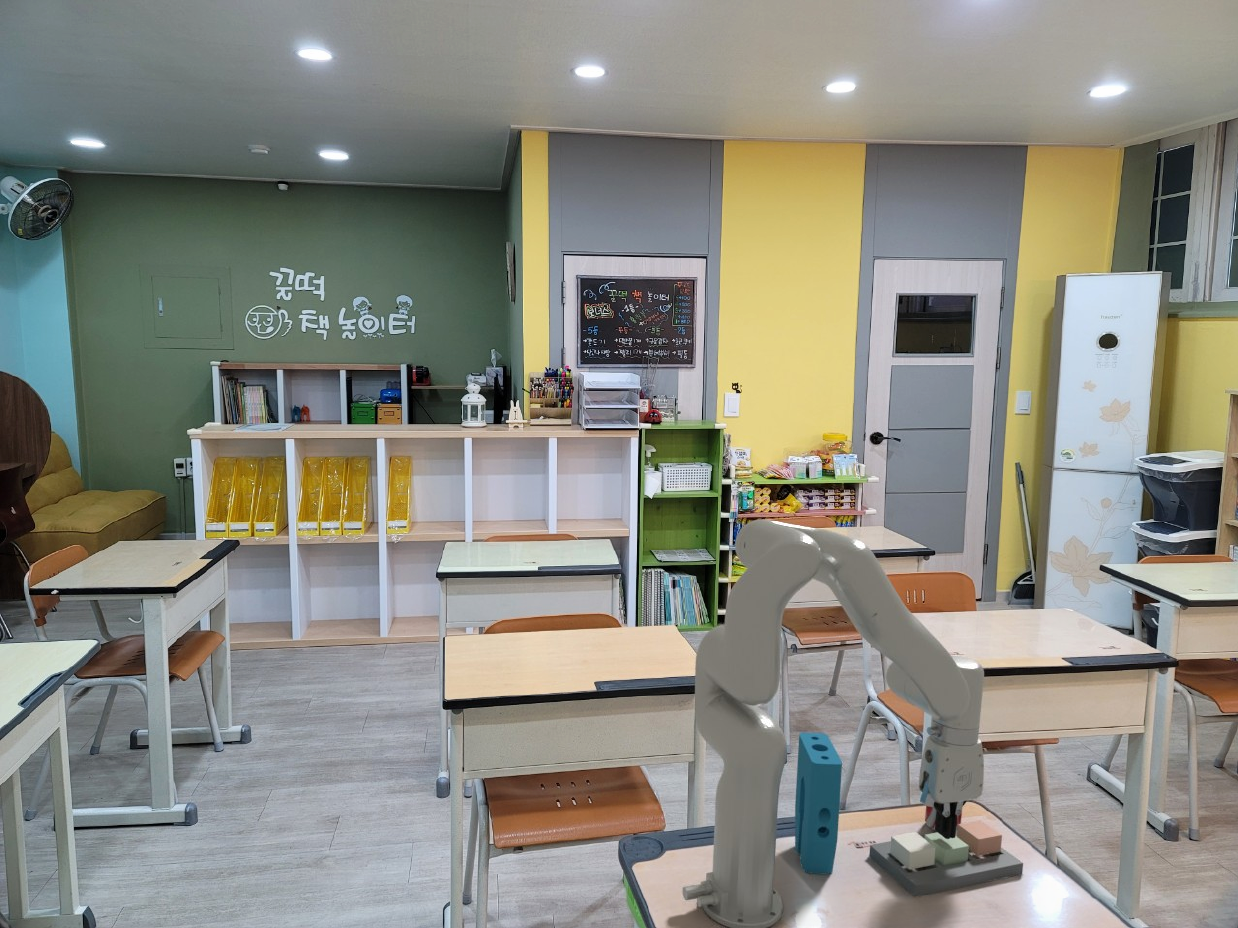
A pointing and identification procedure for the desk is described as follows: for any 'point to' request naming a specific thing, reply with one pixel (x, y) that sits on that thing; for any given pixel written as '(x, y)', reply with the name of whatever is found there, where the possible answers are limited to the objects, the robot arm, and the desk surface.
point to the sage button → (948, 849)
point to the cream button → (912, 850)
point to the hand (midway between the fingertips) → (944, 834)
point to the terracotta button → (979, 837)
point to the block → (817, 802)
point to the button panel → (947, 870)
